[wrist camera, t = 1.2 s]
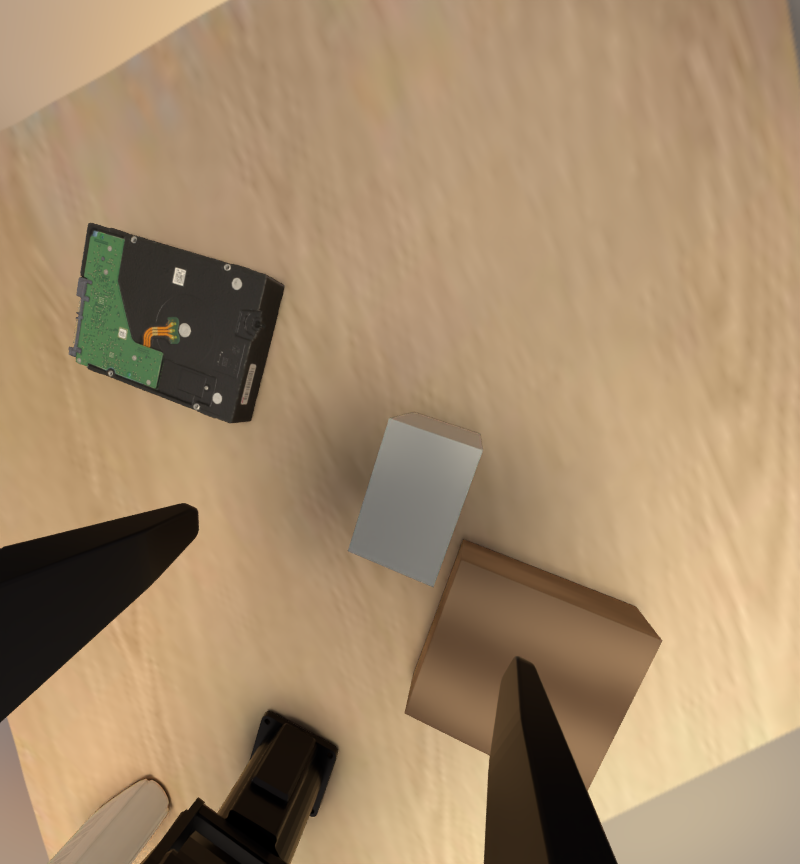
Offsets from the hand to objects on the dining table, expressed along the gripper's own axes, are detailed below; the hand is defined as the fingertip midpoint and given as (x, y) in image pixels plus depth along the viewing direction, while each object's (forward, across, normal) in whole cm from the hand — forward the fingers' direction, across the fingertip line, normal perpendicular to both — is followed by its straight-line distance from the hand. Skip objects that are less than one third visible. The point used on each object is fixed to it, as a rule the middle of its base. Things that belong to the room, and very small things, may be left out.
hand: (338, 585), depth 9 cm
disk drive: (+15, +21, 0) cm, 26 cm away
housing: (+14, 0, +4) cm, 15 cm away
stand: (+12, -9, +13) cm, 20 cm away
